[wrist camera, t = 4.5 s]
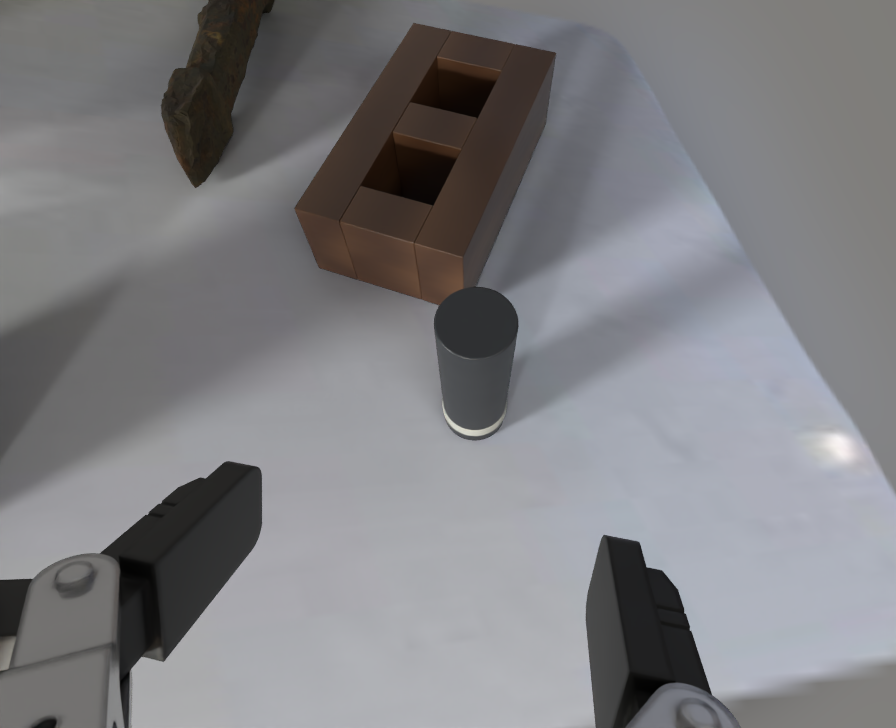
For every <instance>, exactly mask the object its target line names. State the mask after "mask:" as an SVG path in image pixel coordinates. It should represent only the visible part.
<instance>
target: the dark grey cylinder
mask: <svg viewBox="0 0 896 728" xmlns="http://www.w3.org/2000/svg"><path fill="white" fill-rule="evenodd" d="M434 330H435V339H436V347H437V355H438V363H439V372H440V380H441V388H442V396H443V398H442V405H443V412H444V416H445V419H446V422H447V424H448V426H449V427H450V429H451V430H452V431H453V432H454V433H455V434H457V435H458V436H460V437H462V438H464V439H468V440H481V439H485V438H488V437H490V436H491V435H493V434H494V433H495V432H496V431H497V430H498V429H499V428H500V426H501V424H502V422H503V419H504V417H505V413H506V408H507V395H508V389H509V382H510V376H511V370H512V363H513V357H514V351H515V345H516V338H517V332H518V316H517V313H516V311H515V309H514V307H513V305H512V304H511V303H510V301H509V300H508V299H507V298H505V297H504V296H503V295H502V294H500V293H498V292H496V291H494V290H491V289H488V288H483V287H469V288H464V289H461V290H458V291H456V292H454V293H452V294H451V295H449V296H448V297H447V298H446V299H445V300H444V301H443V302H442V303H441V304H440V306H439V307H438V309H437V311H436V314H435V318H434Z"/></svg>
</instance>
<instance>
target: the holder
mask: <svg viewBox="0 0 896 728" xmlns="http://www.w3.org/2000/svg"><path fill="white" fill-rule="evenodd" d="M555 58H556V53H555V52H550V51H546V50H541V49H536V48H531V47H526V46H521V45H517V44H512V43H507V42H502V41H497V40H493V39H488V38H483V37H478V36H473V35H469V34H464V33H459V32H454V31H450V30H445V29H440V28H435V27H430V26H425V25H421V24H416V23H413V25H412V27H411V28H410V30H409V31H408V33H407V34H406V36H405V37H404V39H403V41H402V42H401V44H400V45H399V47H398V48H397V50H396V51H395V53H394V55H393V56H392V58H391V59H390V61H389V62H388V64H387V65H386V67H385V68H384V70H383V72H382V73H381V75H380V76H379V78H378V79H377V81H376V82H375V84H374V86H373V87H372V89H371V90H370V92H369V93H368V95H367V96H366V98H365V100H364V101H363V103H362V104H361V106H360V107H359V109H358V110H357V112H356V113H355V115H354V117H353V118H352V120H351V121H350V123H349V124H348V126H347V127H346V129H345V131H344V132H343V134H342V135H341V137H340V138H339V140H338V141H337V143H336V145H335V146H334V148H333V149H332V151H331V152H330V154H329V155H328V157H327V158H326V160H325V162H324V163H323V165H322V166H321V168H320V169H319V171H318V172H317V174H316V176H315V177H314V179H313V180H312V182H311V183H310V185H309V186H308V188H307V190H306V191H305V193H304V194H303V196H302V197H301V199H300V200H299V202H298V203H297V205H296V207H295V208H294V209H295V211H296V214H297V216H298V219H299V221H300V223H301V226H302V228H303V230H304V233H305V235H306V238H307V240H308V242H309V245H310V247H311V249H312V252H313V254H314V257H315V259H316V261H317V264H318V266H319V268H321V269H325V270H328V271H331V272H334V273H338V274H341V275H344V276H347V277H350V278H354V279H358V280H361V281H364V282H367V283H371V284H374V285H377V286H380V287H383V288H387V289H390V290H393V291H396V292H399V293H403V294H406V295H409V296H412V297H416V298H419V299H423V300H425V301H428V302H431V303H434V304H437V305H440V304H441V303H442V302H443V301H444V300H445V299H446V298H447V297H448V296H449V295H451V294H452V293H454V292H456V291H458V290H461V289H464V288H469V287H475V286H476V284H477V282H478V280H479V277H480V275H481V273H482V270H483V268H484V266H485V263H486V261H487V259H488V256H489V254H490V252H491V249H492V247H493V245H494V242H495V240H496V238H497V235H498V233H499V231H500V229H501V226H502V224H503V222H504V219H505V217H506V215H507V212H508V210H509V208H510V205H511V203H512V201H513V198H514V196H515V194H516V191H517V189H518V187H519V184H520V182H521V180H522V178H523V175H524V173H525V171H526V168H527V166H528V164H529V161H530V159H531V157H532V154H533V152H534V150H535V147H536V145H537V143H538V140H539V138H540V136H541V133H542V131H543V129H544V127H545V124H546V118H547V111H548V105H549V98H550V91H551V84H552V78H553V71H554V64H555ZM403 197H404V198H403ZM432 205H433V206H432Z"/></svg>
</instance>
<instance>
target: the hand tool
mask: <svg viewBox="0 0 896 728" xmlns="http://www.w3.org/2000/svg"><path fill="white" fill-rule="evenodd" d="M273 3H274V0H209V2H208V4H207V5H206V6H204V7H203V9H202V12H200V13H199V14H198V24H199V31H198V34H197V37H196V40H195V42H194V45H193V48H192V51H191V54H190V56H189V60H188V63H187V66H186V68H178V69H175V70H174V71H173V74H172V76H171V78H170V80H169V83H168V90H167V91H166V92H165V93H164V99H162V105H161V108H162V113H161V114H162V118H163V121H164V124H165V130H166V132H167V134H168V137H169V139H170V142H171V144H172V146H173V149H174V152H175V155H176V157H177V159H178V161H179V163H180V164H181V166H182V168H183V169H184V171H185V173H186V175H187V176H188V178H189V180H190V181H191V183H192V185H193V186H194V187H195V188H196V187H198V186H199V185H201V183H203V182H205V181H206V179H207V178H208V176H209V175H210V173H211V172H212V170H213V169H214V167H215V166H216V165H217V164H218V162H219V158H220V157H221V155H222V152H223V150H224V148H225V146H226V144H227V143H228V141H229V139H230V138H231V136H232V134H233V125H232V122H231V112H232V110H233V105H234V102H235V99H236V96H237V94H238V91H239V88H240V86H241V83H242V81H243V79H244V77H245V73H246V66H247V62H248V59H249V56H250V53H251V50H252V48H253V46H254V43H255V39H256V37H257V36H258V27H259V24H260V20H261V16H262V14H263V13H269V12H270V11H271V9H272V6H273Z"/></svg>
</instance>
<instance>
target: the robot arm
mask: <svg viewBox="0 0 896 728" xmlns="http://www.w3.org/2000/svg"><path fill="white" fill-rule="evenodd" d="M261 526H262V474H261V470H260V468H259V467H256V466H251V465H245V464H240V463H235V462H230V461H227V462H224V463H223V464H222V465H221V466H220V467H219V468H217V469H216V470H215V471H214V472H213V473H212V474H211V475H209V476H208V477H207V478H206V479H205V478H198V479H196V480H194V481H191V482H189V483H187V484H185V485H183V486H180V487H178V488H177V489H176V490H175V491H173V492H172V493H171V494H170V495H169V496H167V497H166V498H165V499H164V500H163V501H162V503H161V504H158V505H157V506H156V507H154V508H153V509H152V510H151V511H150V512H149V514H148V515H145V516H144V517H143V518H141V519H140V520H139V521H138V522H137V523H135V524H134V525H133V526H132V527H131V528H129V529H128V530H127V531H126V532H125V533H124V534H122V535H121V536H120V537H119V538H118V539H116V540H115V541H114V542H113V543H112V544H110V545H109V546H108V547H107V548H106V549H105V550H103V551H102V552H101V553H100V554H95V553H91V554H81V555H76V556H72V557H69V558H65V559H63V560H60V561H58V562H56V563H54V564H52V565H50V566H48V567H47V568H45V569H44V570H42V571H41V572H40V573H39V574H37V576H36V577H35V578H34V579H15V580H0V728H132V672H131V668H132V667H133V666H134V665H135V664H136V663H137V661H138V660H139V659H140V658H141V657H146V658H150V659H154V660H159V661H163V662H164V661H165V660H166V658H167V657H168V656H169V654H170V653H171V652H172V651H173V649H174V648H175V647H176V646H177V644H178V643H179V642H180V641H181V639H182V638H183V637H184V635H185V634H186V633H187V632H188V630H189V629H190V628H191V627H192V625H193V624H194V623H195V621H196V620H197V619H198V618H199V616H200V615H201V614H202V613H203V611H204V610H205V609H206V608H207V606H208V605H209V604H210V602H211V601H212V600H213V599H214V597H215V596H216V595H217V594H218V592H219V591H220V590H221V589H222V587H223V586H224V585H225V583H226V582H227V581H228V580H229V578H230V577H231V576H232V575H233V573H234V572H235V571H236V570H237V568H238V567H239V566H240V564H241V563H242V562H243V561H244V559H245V558H246V557H247V556H248V554H249V553H250V552H251V551H252V549H253V548H254V546H255V544H256V542H257V540H258V538H259V535H260V531H261ZM586 627H587V638H588V649H589V660H590V670H591V681H592V692H593V702H594V713H595V724H596V728H741V727H740V725H739V723H738V722H737V720H736V718H735V717H734V716H733V714H732V713H731V712H730V711H729V709H728V708H727V707H726V706H725V705H723V704H722V703H721V702H720V701H719V700H718V699H716V698H715V697H714V696H712V694H711V690H710V687H709V684H708V681H707V678H706V675H705V672H704V669H703V666H702V663H701V660H700V657H699V653H698V650H697V647H696V644H695V641H694V638H693V635H692V632H691V631H690V626H689V623H688V620H687V616H686V614H684V607H683V604H682V601H681V598H680V595H679V592H678V589H677V588H676V587H675V586H674V585H673V583H672V582H671V581H670V580H669V578H668V577H667V576H666V575H665V573H664V572H663V571H662V570H657V569H652V568H647V567H646V564H645V561H644V557H643V553H642V549H641V546H640V543H639V542H638V541H633V540H628V539H622V538H617V537H612V536H607V535H604V536H603V537H602V539H601V542H600V546H599V550H598V554H597V558H596V562H595V566H594V570H593V574H592V578H591V582H590V586H589V590H588V595H587V603H586Z"/></svg>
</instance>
